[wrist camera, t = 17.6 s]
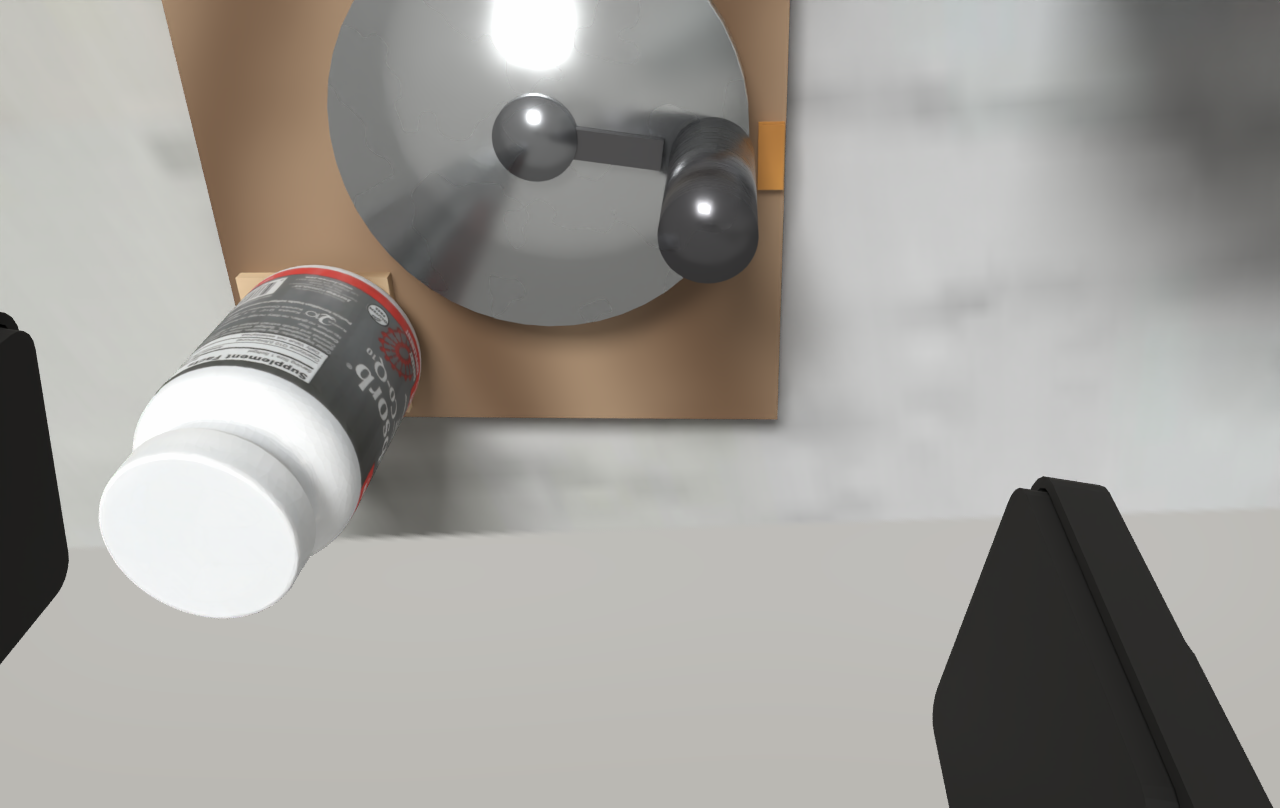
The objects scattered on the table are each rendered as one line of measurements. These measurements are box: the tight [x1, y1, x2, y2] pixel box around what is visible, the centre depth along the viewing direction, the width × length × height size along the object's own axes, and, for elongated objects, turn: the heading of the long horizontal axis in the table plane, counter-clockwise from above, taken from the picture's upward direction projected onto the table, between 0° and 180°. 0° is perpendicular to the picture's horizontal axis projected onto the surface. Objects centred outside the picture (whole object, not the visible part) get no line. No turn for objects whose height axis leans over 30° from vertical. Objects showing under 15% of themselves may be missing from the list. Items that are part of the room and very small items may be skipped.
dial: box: [327, 0, 759, 326], centre depth 27 cm, size 11×11×6 cm
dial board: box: [162, 0, 790, 419], centre depth 31 cm, size 16×16×2 cm
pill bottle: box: [99, 265, 421, 618], centre depth 29 cm, size 6×6×10 cm
